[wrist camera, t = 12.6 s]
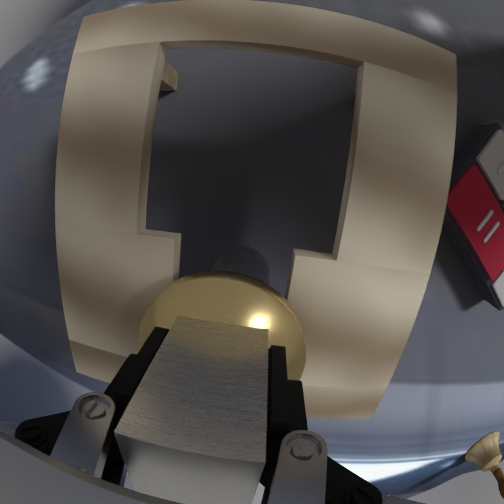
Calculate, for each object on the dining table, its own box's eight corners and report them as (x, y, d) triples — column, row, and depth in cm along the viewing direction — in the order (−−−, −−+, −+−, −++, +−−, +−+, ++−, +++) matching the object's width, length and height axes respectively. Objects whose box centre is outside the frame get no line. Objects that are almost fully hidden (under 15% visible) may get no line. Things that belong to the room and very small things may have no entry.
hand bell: (486, 430, 32) (521, 491, 16) (505, 430, 32) (536, 483, 17) (456, 460, 34) (483, 521, 19) (477, 458, 34) (503, 512, 19)
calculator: (502, 119, 17) (557, 240, 18) (477, 124, 21) (534, 232, 22) (438, 200, 19) (504, 316, 21) (415, 195, 24) (483, 300, 25)
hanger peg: (195, 218, 20) (35, 355, 5) (298, 231, 20) (368, 417, 5) (190, 309, 22) (100, 494, 7) (282, 322, 22) (291, 531, 7)
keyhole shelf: (159, 71, 21) (83, 16, 9) (376, 97, 20) (456, 54, 9) (142, 295, 26) (76, 372, 15) (336, 322, 26) (371, 417, 15)
